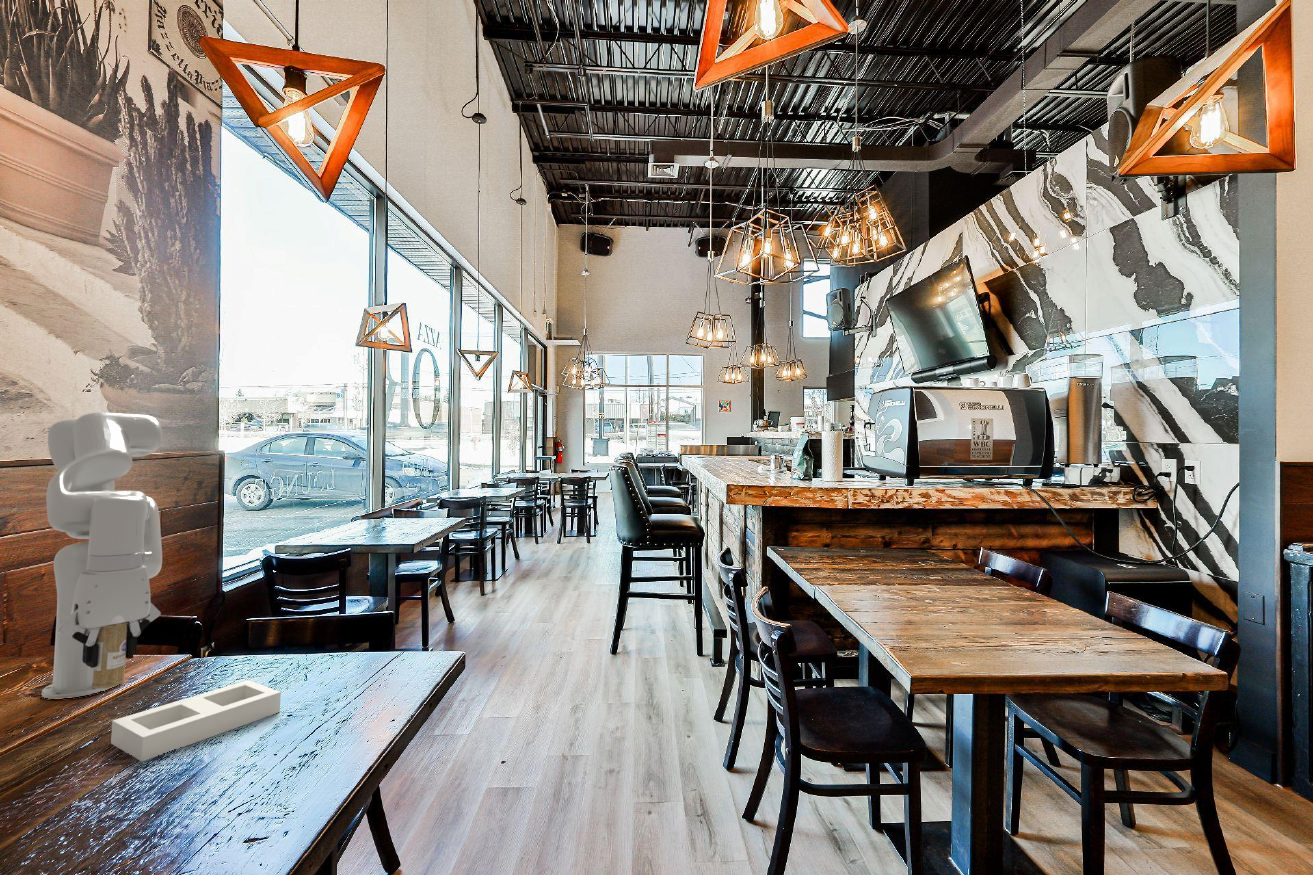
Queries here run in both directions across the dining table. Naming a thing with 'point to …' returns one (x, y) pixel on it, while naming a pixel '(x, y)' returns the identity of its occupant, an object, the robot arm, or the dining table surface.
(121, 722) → the condiment rack
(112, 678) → the sprinkles bottle
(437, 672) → the dining table surface
